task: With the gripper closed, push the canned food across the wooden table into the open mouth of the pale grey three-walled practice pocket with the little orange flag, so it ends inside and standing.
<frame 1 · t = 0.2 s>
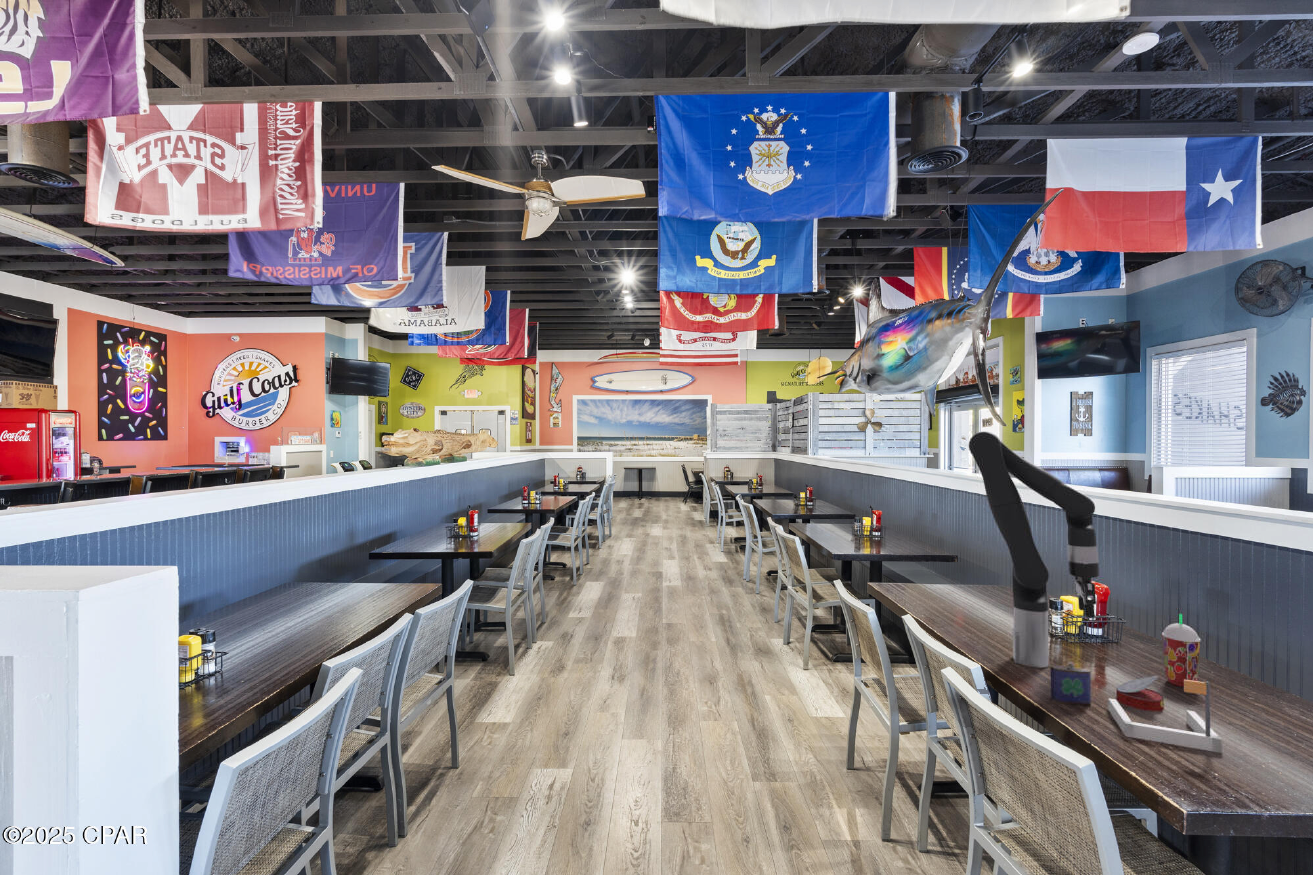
hand: (1086, 613, 179), 18 cm above the table, tool pointing down, fingers open, 8 cm apart
smoothie: (1181, 684, 169), on the table
practice pocket: (1159, 728, 142), on the table
canned food: (1139, 704, 156), on the table
flask: (1070, 703, 156), on the table
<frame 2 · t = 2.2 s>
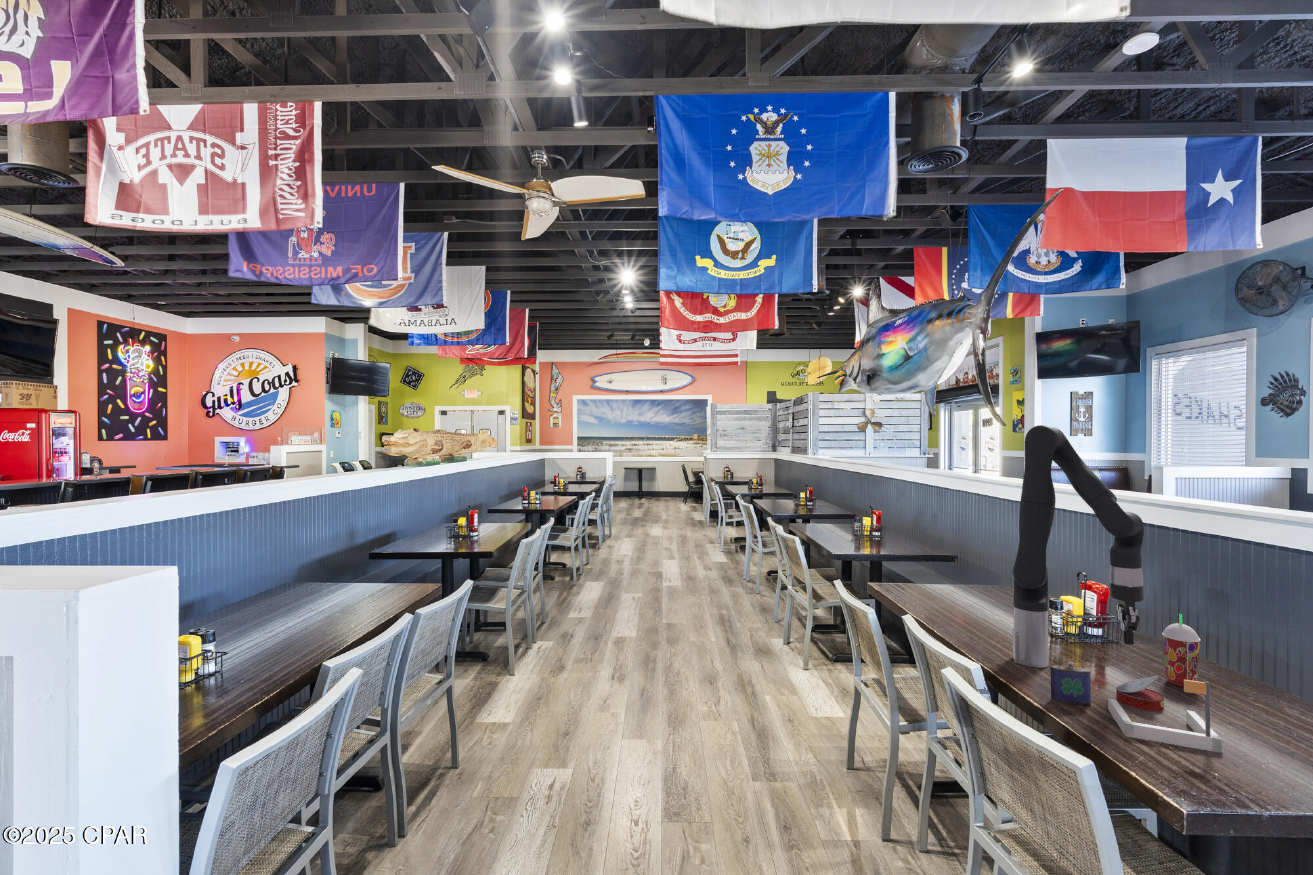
hand: (1128, 643, 166), 13 cm above the table, tool pointing down, fingers closed
nothing on the table moved.
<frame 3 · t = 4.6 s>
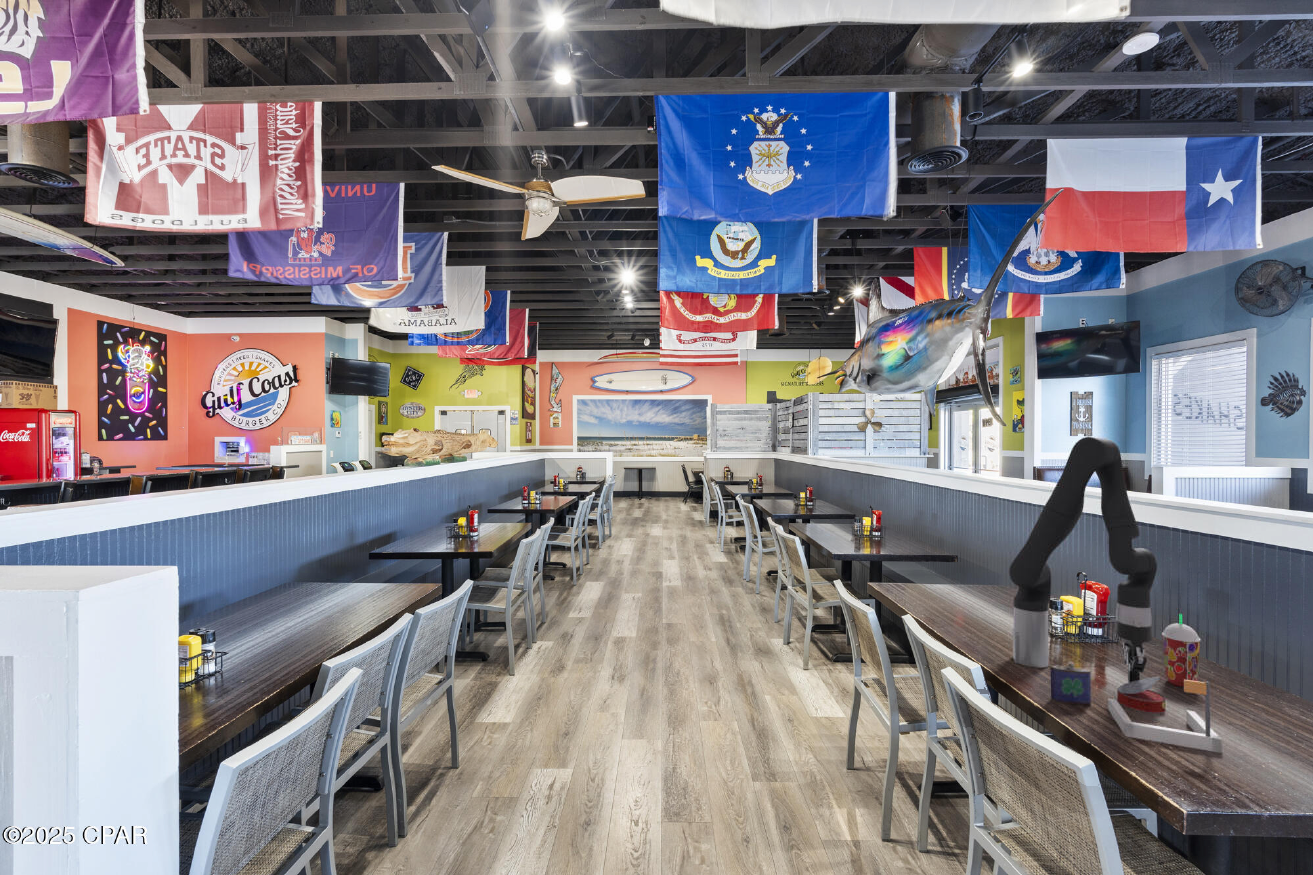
hand: (1133, 684, 161), 3 cm above the table, tool pointing down, fingers closed
canned food: (1140, 705, 155), on the table, touching gripper
everything else where it was.
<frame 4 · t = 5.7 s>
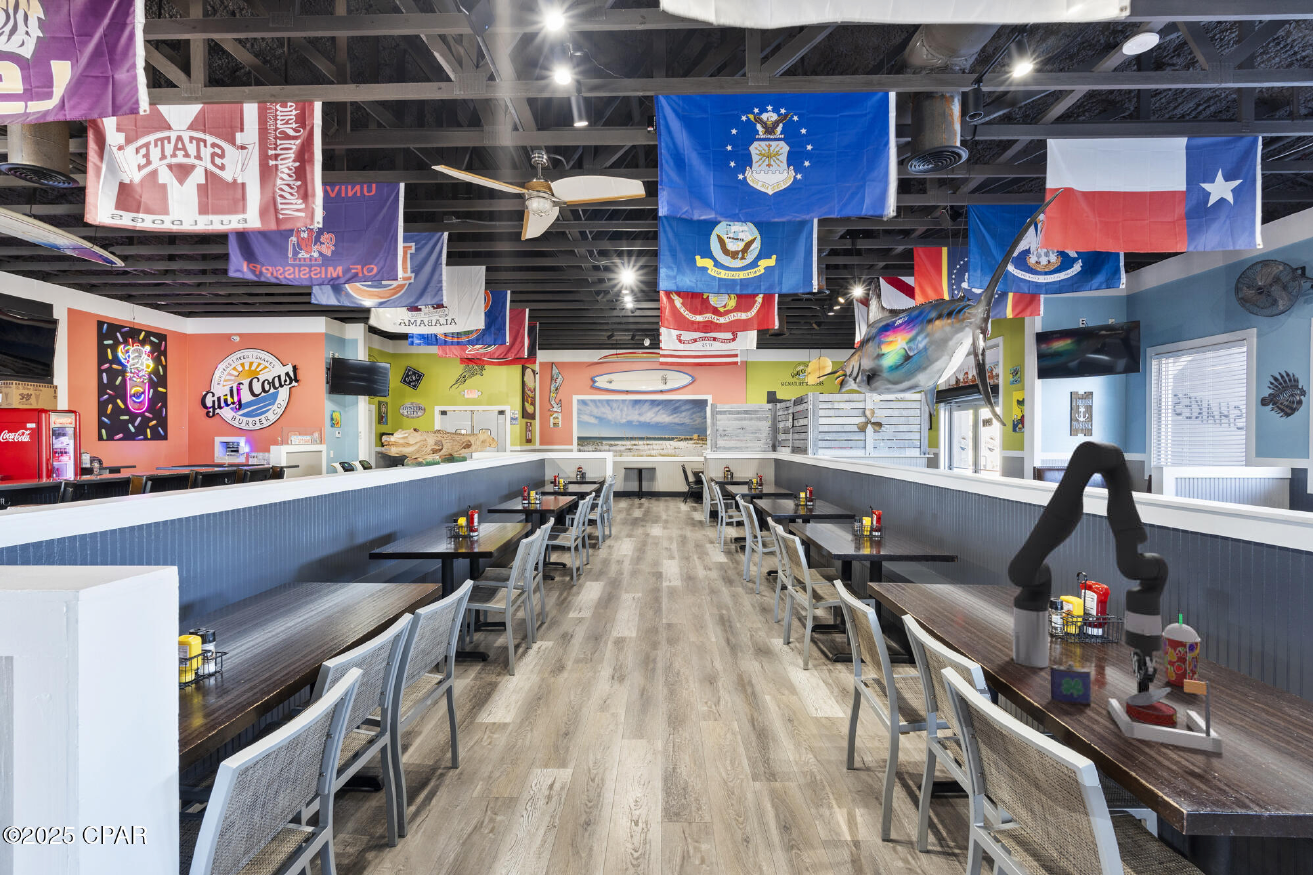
hand: (1143, 695, 154), 3 cm above the table, tool pointing down, fingers closed
canned food: (1150, 718, 148), on the table, touching gripper
everything else where it was.
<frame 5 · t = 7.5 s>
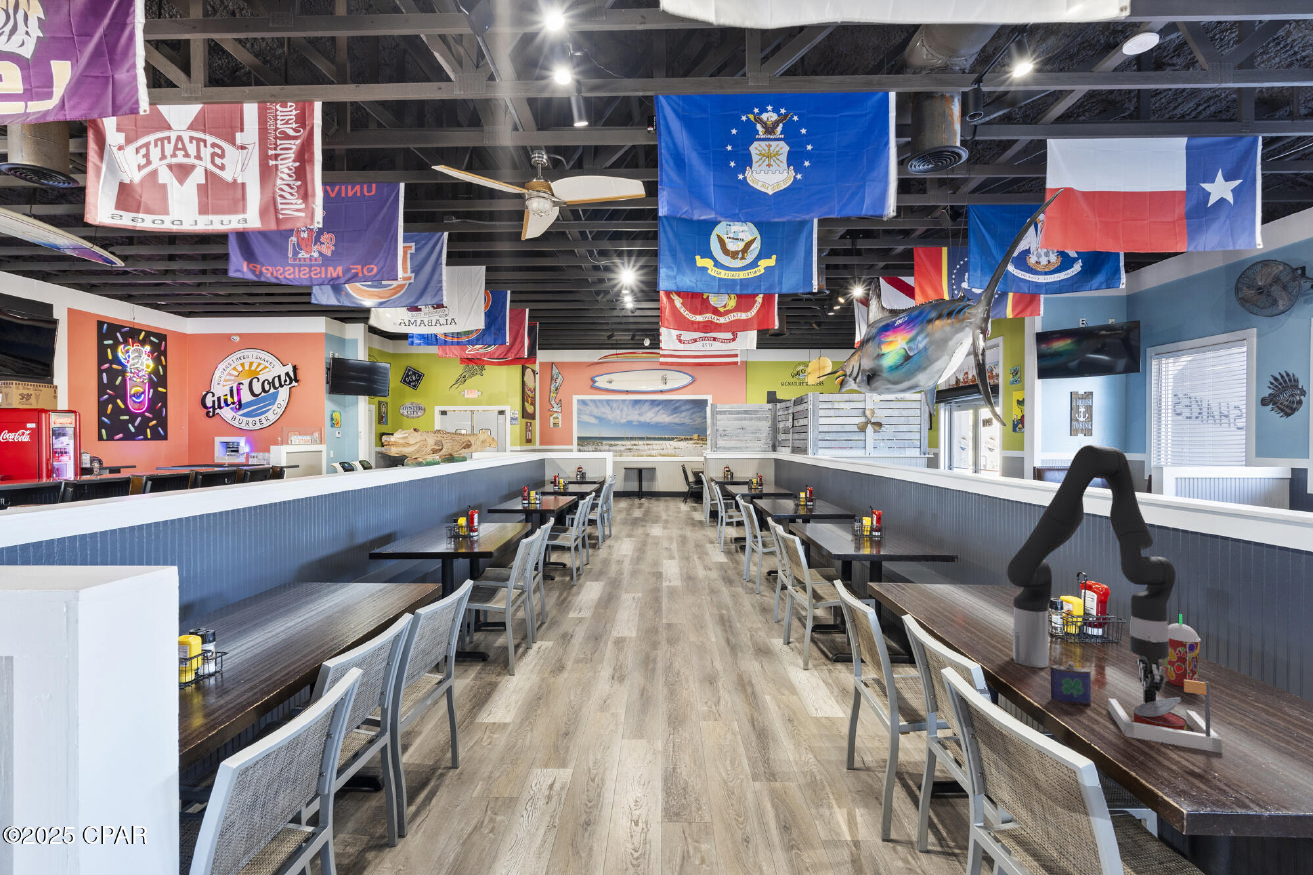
hand: (1149, 704, 148), 3 cm above the table, tool pointing down, fingers closed
canned food: (1159, 729, 142), on the table, touching gripper
everything else where it was.
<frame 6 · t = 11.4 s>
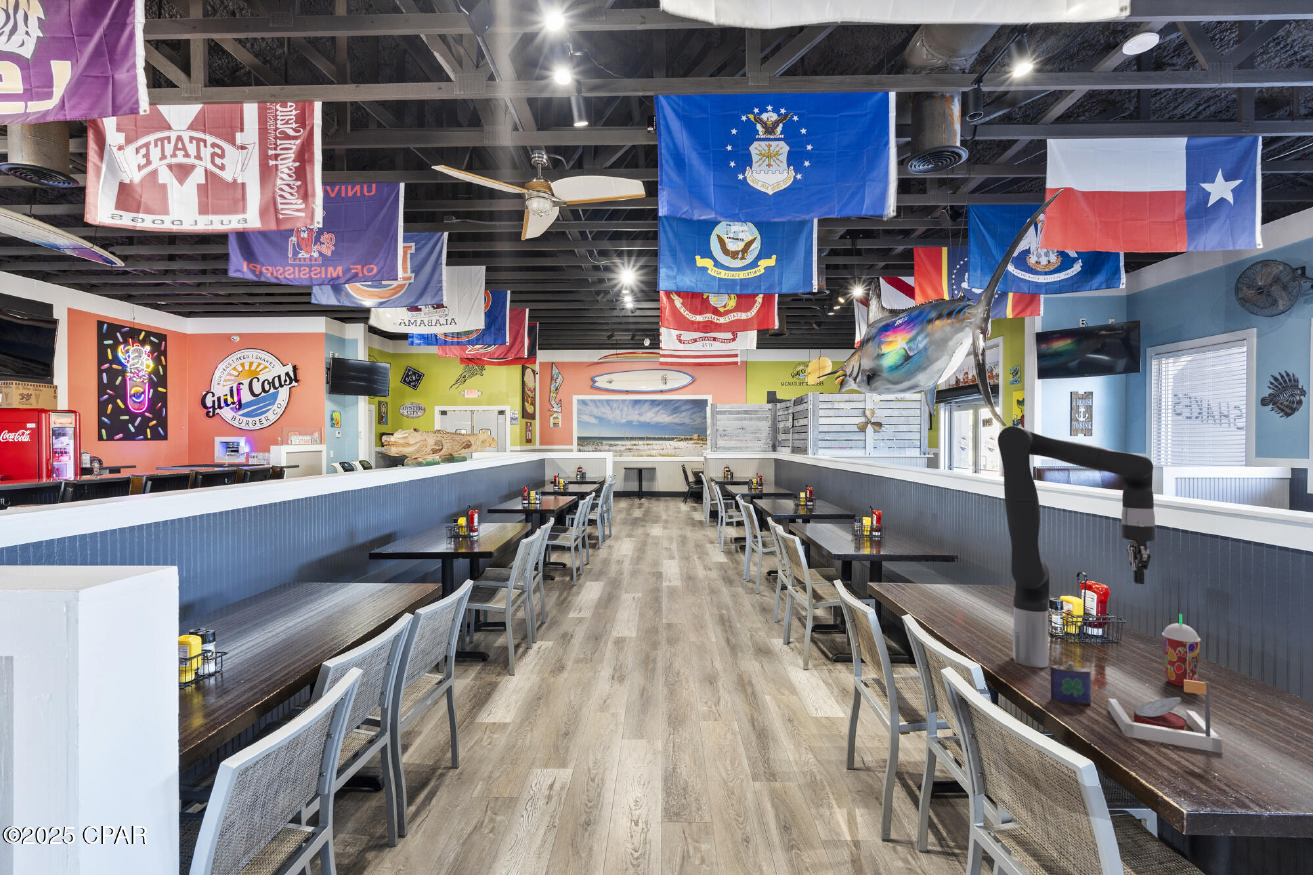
hand: (1138, 583, 169), 29 cm above the table, tool pointing down, fingers closed
canned food: (1159, 729, 142), on the table
everything else where it was.
at the end: canned food inside the target area on the practice pocket (2.0 cm from its centre), point 0.0 cm above the practice pocket's base; canned food tilted 1° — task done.
